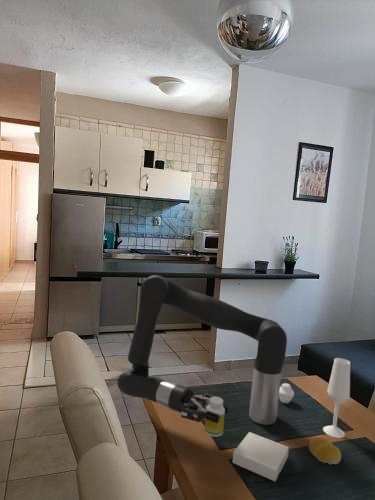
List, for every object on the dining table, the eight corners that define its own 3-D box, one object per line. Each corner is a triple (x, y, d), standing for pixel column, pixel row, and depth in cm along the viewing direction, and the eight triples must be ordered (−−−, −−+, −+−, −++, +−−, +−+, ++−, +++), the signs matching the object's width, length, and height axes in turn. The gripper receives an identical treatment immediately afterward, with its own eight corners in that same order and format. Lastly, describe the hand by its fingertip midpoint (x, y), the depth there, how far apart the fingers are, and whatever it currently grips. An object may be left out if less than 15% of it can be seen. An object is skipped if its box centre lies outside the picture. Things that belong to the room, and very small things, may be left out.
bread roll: (325, 468, 99) (326, 454, 99) (304, 448, 108) (305, 435, 108) (348, 463, 102) (349, 450, 102) (325, 444, 111) (327, 432, 110)
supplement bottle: (221, 438, 101) (224, 406, 101) (203, 435, 103) (205, 402, 102) (223, 428, 107) (226, 397, 106) (206, 424, 108) (208, 393, 107)
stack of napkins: (248, 441, 109) (249, 431, 108) (287, 457, 103) (288, 447, 102) (232, 462, 98) (233, 452, 98) (275, 481, 92) (276, 470, 92)
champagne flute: (340, 440, 113) (349, 366, 111) (319, 430, 118) (328, 360, 116) (347, 432, 118) (356, 361, 116) (327, 423, 123) (335, 355, 121)
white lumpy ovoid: (284, 406, 132) (286, 388, 131) (273, 398, 137) (274, 381, 137) (296, 403, 135) (298, 385, 134) (284, 396, 140) (286, 378, 140)
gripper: (161, 393, 105) (213, 413, 96) (186, 376, 117) (234, 392, 109) (160, 418, 105) (211, 439, 97) (185, 398, 118) (232, 416, 109)
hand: (223, 414), depth 103 cm, fingers closed on supplement bottle, 5 cm apart
